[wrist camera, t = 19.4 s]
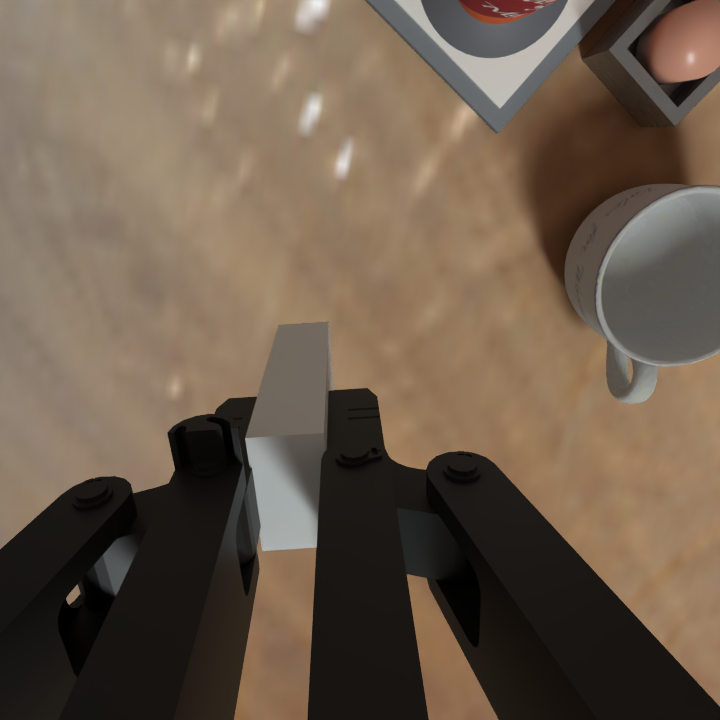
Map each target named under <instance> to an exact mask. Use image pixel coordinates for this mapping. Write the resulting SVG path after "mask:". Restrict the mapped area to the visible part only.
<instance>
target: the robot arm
mask: <svg viewBox="0 0 720 720" xmlns="http://www.w3.org/2000/svg"><path fill="white" fill-rule="evenodd" d="M168 438H169V443H170V447H171V452H172V457H173V461H174V466H175V471H174V473H173V475H172V478H171V480H170V482H169V483H168V484H166V485H162V486H159V487H156V488H153V489H149V490H145V491H141V492H137V493H133V491H132V487H131V484H130V483H129V482H128V481H127V480H126V479H124V478H120V477H115V476H111V477H97V478H95V479H93V478H92V479H89V480H86V481H84V482H82V483H80V484H78V485H76V486H73V487H72V488H70V489H69V490H68V491H66V492H65V493H63V494H62V495H61V496H60V497H58V498H57V499H56V500H55V501H54V502H53V503H52V504H51V505H50V506H48V507H47V508H46V509H45V510H44V511H43V512H42V513H41V514H39V515H38V516H37V517H36V518H35V519H34V520H33V521H32V522H30V523H29V524H28V525H27V526H26V527H25V528H24V529H23V530H22V531H20V532H19V533H18V534H17V535H16V536H15V537H14V538H13V539H11V540H10V541H9V542H8V543H7V544H6V545H5V546H4V547H2V548H1V549H0V720H234V715H235V709H236V703H237V697H238V691H239V685H240V680H241V674H242V668H243V662H244V656H245V651H246V645H247V639H248V633H249V627H250V621H251V616H252V610H253V604H254V598H255V592H256V586H257V581H258V575H259V560H258V554H257V544H258V538H259V533H260V539H261V545H262V551H270V550H285V549H299V548H314V547H317V549H316V568H315V587H314V607H313V626H312V645H311V664H310V683H309V702H308V720H429V719H428V713H427V706H426V700H425V693H424V687H423V680H422V673H421V667H420V660H419V654H418V647H417V640H416V634H415V627H414V621H413V614H412V608H411V601H410V594H409V588H408V581H407V575H406V574H410V575H415V576H420V577H425V578H427V580H428V584H429V588H430V590H431V592H432V594H433V596H434V598H435V600H436V601H437V603H438V605H439V607H440V609H441V611H442V613H443V615H444V617H445V619H446V620H447V622H448V624H449V626H450V628H451V630H452V632H453V634H454V636H455V638H456V639H457V641H458V643H459V645H460V647H461V649H462V651H463V653H464V655H465V656H466V658H467V660H468V662H469V664H470V666H471V668H472V670H473V672H474V674H475V675H476V677H477V679H478V681H479V683H480V685H481V687H482V689H483V691H484V693H485V694H486V696H487V698H488V700H489V702H490V704H491V706H492V708H493V710H494V711H495V713H496V715H497V717H498V719H499V720H720V707H719V705H718V704H717V703H716V702H715V701H714V700H713V699H712V698H711V697H710V696H709V695H708V694H707V693H706V691H705V690H704V689H703V688H702V687H701V686H700V685H699V684H698V683H697V682H696V681H695V680H694V679H693V677H692V676H691V675H690V674H689V673H688V672H687V671H686V670H685V669H684V668H683V667H682V666H681V664H680V663H679V662H678V661H677V660H676V659H675V658H674V657H673V656H672V655H671V654H670V653H669V652H668V650H667V649H666V648H665V647H664V646H663V645H662V644H661V643H660V642H659V641H658V640H657V639H656V637H655V636H654V635H653V634H652V633H651V632H650V631H649V630H648V629H647V628H646V627H645V626H644V625H643V623H642V622H641V621H640V620H639V619H638V618H637V617H636V616H635V615H634V614H633V613H632V612H631V610H630V609H629V608H628V607H627V606H626V605H625V604H624V603H623V602H622V601H621V600H620V599H619V598H618V596H617V595H616V594H615V593H614V592H613V591H612V590H611V589H610V588H609V587H608V586H607V585H606V583H605V582H604V581H603V580H602V579H601V578H600V577H599V576H598V575H597V574H596V573H595V572H594V571H593V569H592V568H591V567H590V566H589V565H588V564H587V563H586V562H585V561H584V560H583V559H582V558H581V557H580V555H579V554H578V553H577V552H576V551H575V550H574V549H573V548H572V547H571V546H570V545H569V544H568V542H567V541H566V540H565V539H564V538H563V537H562V536H561V535H560V534H559V533H558V532H557V531H556V530H555V528H554V527H553V526H552V525H551V524H550V523H549V522H548V521H547V520H546V519H545V518H544V517H543V515H542V514H541V513H540V512H539V511H538V510H537V509H536V508H535V507H534V506H533V505H532V504H531V503H530V501H529V500H528V499H527V498H526V497H525V496H524V495H523V494H522V493H521V492H520V491H519V490H518V488H517V487H516V486H515V485H514V484H513V483H512V482H511V481H510V480H509V479H508V478H507V477H506V476H505V474H504V473H503V472H502V471H501V470H500V469H499V468H498V467H497V466H496V465H495V464H494V463H493V462H492V461H490V460H489V459H487V458H486V457H484V456H481V455H478V454H475V453H471V452H465V451H457V452H447V453H444V454H442V455H439V456H436V457H435V458H434V459H432V460H431V461H430V462H429V464H428V466H427V469H426V470H422V469H415V468H411V467H406V466H404V465H401V464H398V463H397V462H395V461H393V460H392V459H391V458H390V457H389V456H388V453H387V452H386V450H385V446H384V440H383V433H382V426H381V420H380V413H379V406H378V400H377V396H376V395H375V394H374V393H372V392H371V391H370V390H369V389H368V388H362V389H346V390H334V385H333V372H332V359H331V346H330V334H329V322H318V323H302V324H286V325H278V329H277V332H276V335H275V339H274V342H273V346H272V349H271V352H270V356H269V359H268V362H267V366H266V369H265V373H264V376H263V379H262V383H261V386H260V390H259V393H258V396H257V397H244V398H229V399H228V400H227V401H225V402H224V403H223V404H222V405H220V406H219V407H218V408H217V409H216V412H215V414H206V415H200V416H195V417H192V418H189V419H186V420H183V421H182V422H180V423H178V424H176V425H175V426H173V427H172V428H171V429H170V431H169V432H168ZM77 584H78V587H79V590H80V593H81V594H80V595H79V596H78V597H77V598H76V600H75V601H74V602H72V603H71V604H70V605H68V603H67V601H66V597H67V596H68V594H69V593H70V592H71V591H72V590H73V589H74V587H75V586H76V585H77Z"/></svg>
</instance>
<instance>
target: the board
mask: <svg viewBox="0 0 720 720" xmlns="http://www.w3.org/2000/svg"><path fill="white" fill-rule="evenodd" d="M365 1H366V2H367V3H368V4H369V5H370V6H371V7H372V8H373V9H374V10H375V11H376V12H377V13H378V14H379V15H380V16H381V17H382V18H383V19H384V20H385V21H386V22H387V23H388V24H389V25H390V26H391V27H392V28H393V29H394V30H395V31H396V32H397V33H398V34H399V35H400V37H401V38H402V39H403V40H404V41H405V42H406V43H407V44H408V45H409V46H410V47H411V48H412V49H413V50H414V51H415V52H416V53H417V54H418V55H419V56H420V57H421V58H422V59H423V60H424V61H425V62H426V63H427V64H428V65H429V66H430V67H431V68H432V69H433V70H434V71H435V72H436V73H437V74H438V75H439V76H440V77H441V78H442V79H443V80H444V81H445V82H446V83H447V84H448V85H449V86H450V87H451V88H452V89H453V90H454V91H455V92H456V93H457V94H458V95H459V96H460V97H461V98H462V99H463V100H464V101H465V102H466V103H467V104H468V105H469V107H470V108H471V109H472V110H473V111H474V112H475V113H476V114H477V115H478V116H479V117H480V118H481V119H482V120H483V121H484V122H485V123H486V124H487V125H488V126H489V127H490V128H491V129H492V130H493V131H494V132H495V133H499V132H500V131H501V130H502V129H503V127H504V126H505V125H506V124H507V123H508V122H509V121H510V120H511V118H512V117H513V116H514V115H515V114H516V113H517V112H518V111H519V109H520V108H521V107H522V106H523V105H524V104H525V103H526V101H527V100H528V99H529V98H530V97H531V96H532V95H533V94H534V92H535V91H536V90H537V89H538V88H539V87H540V86H541V85H542V83H543V82H544V81H545V80H546V79H547V78H548V77H549V75H550V74H551V73H552V72H553V71H554V70H555V69H556V68H557V66H558V65H559V64H560V63H561V62H562V61H563V60H564V59H565V57H566V56H567V55H568V54H569V53H570V52H571V51H572V49H573V48H574V47H575V46H576V45H577V44H578V43H579V42H580V40H581V39H582V38H583V37H584V36H585V35H586V34H587V32H588V31H589V30H590V29H591V28H592V27H593V26H594V25H595V23H596V22H597V21H598V20H599V19H600V18H601V17H602V16H603V14H604V13H605V12H606V11H607V10H608V9H609V8H610V6H611V5H612V4H613V3H614V2H615V1H616V0H557V1H555V2H553V3H551V4H549V5H547V6H545V7H543V8H541V9H539V10H537V11H535V12H533V13H531V14H529V15H527V16H525V17H522V18H520V19H518V20H515V21H512V22H509V23H505V24H487V23H484V22H481V21H479V20H477V19H475V18H473V17H472V16H471V15H470V14H468V13H467V12H466V10H465V9H464V8H463V7H462V5H461V4H460V2H459V0H365Z"/></svg>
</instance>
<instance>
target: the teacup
mask: <svg viewBox="0 0 720 720" xmlns="http://www.w3.org/2000/svg"><path fill="white" fill-rule="evenodd" d="M564 277H565V286H566V290H567V294H568V297H569V299H570V302H571V304H572V306H573V307H574V309H575V311H576V312H577V313H578V315H579V316H580V317H581V318H582V319H583V321H584V322H585V323H586V324H587V325H589V326H590V327H591V328H592V329H593V330H594V331H596V332H597V333H598V334H600V335H601V336H602V337H604V338H605V339H606V340H607V360H606V376H607V383H608V388H609V390H610V392H611V394H612V395H613V396H614V397H615V398H616V399H617V400H619V401H621V402H624V403H641V402H643V401H645V400H647V399H648V398H649V397H650V396H651V394H652V393H653V391H654V389H655V386H656V383H657V369H658V368H657V366H679V365H684V364H690V363H695V362H699V361H701V360H704V359H707V358H709V357H711V356H713V355H715V354H717V353H719V352H720V186H715V185H695V186H693V185H683V184H649V185H642V186H638V187H634V188H630V189H628V190H625V191H622V192H620V193H618V194H616V195H614V196H613V197H611V198H609V199H607V200H606V201H604V202H603V203H602V204H600V205H599V206H598V207H596V208H595V209H594V210H593V211H592V212H591V213H590V214H589V215H588V216H587V218H586V219H585V220H584V221H583V222H582V224H581V225H580V227H579V228H578V230H577V231H576V233H575V235H574V237H573V239H572V241H571V243H570V246H569V249H568V252H567V256H566V261H565V272H564ZM628 357H629V358H631V361H632V365H633V377H632V381H631V383H630V382H629V377H628Z"/></svg>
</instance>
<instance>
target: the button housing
mask: <svg viewBox="0 0 720 720" xmlns="http://www.w3.org/2000/svg"><path fill="white" fill-rule="evenodd" d="M693 1H696V0H635V1H634V2H633V3H632V4H631V5H630V6H629V7H628V8H627V10H626V11H625V12H624V13H623V14H622V15H621V16H620V17H619V18H618V20H617V21H616V22H615V23H614V24H613V25H612V26H611V27H610V29H609V30H608V31H607V32H606V33H605V34H604V35H603V36H602V37H601V39H600V40H599V41H598V42H597V43H596V44H595V45H594V46H593V48H592V49H591V50H590V51H589V52H588V53H587V54H586V55H585V56H584V58H583V59H582V60H583V61H584V62H585V63H586V64H587V66H588V67H589V68H590V69H591V70H592V71H593V72H594V73H595V75H596V76H597V77H598V78H599V79H600V80H601V81H602V82H603V84H604V85H605V86H606V87H607V88H608V89H609V90H610V91H611V93H612V94H613V95H614V96H615V97H616V98H617V99H618V100H619V102H620V103H621V104H622V105H623V106H624V107H625V108H626V109H627V111H628V112H629V113H630V114H631V115H632V116H633V117H634V118H635V120H636V121H637V122H638V123H639V124H640V125H641V126H642V127H667V126H676V125H677V124H678V123H679V122H680V121H681V120H682V119H683V118H684V117H685V116H686V115H687V114H688V113H689V112H690V111H691V110H692V109H693V108H694V107H695V106H696V105H697V104H698V103H699V102H700V101H701V100H702V99H703V98H704V97H705V96H706V95H707V94H708V93H709V92H710V91H711V90H712V88H713V87H714V86H715V85H716V84H717V83H718V82H719V81H720V66H719V67H718V68H717V69H716V70H715V71H713V72H712V73H710V74H709V75H707V76H705V77H702V78H699V79H694V80H688V81H682V82H677V83H671V84H657V83H656V82H655V81H654V80H653V78H652V77H651V76H650V75H649V74H648V73H647V71H646V70H645V69H644V68H643V67H642V66H641V64H640V63H639V62H638V61H637V60H636V50H637V45H638V41H639V39H640V36H641V34H642V32H643V31H644V29H645V28H646V27H647V26H648V25H649V24H650V23H651V22H652V20H654V19H655V18H656V17H658V16H659V15H661V14H663V13H666V12H668V11H671V10H673V9H676V8H678V7H680V6H683V5H685V4H688V3H690V2H693ZM717 1H719V2H720V0H717Z"/></svg>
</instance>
